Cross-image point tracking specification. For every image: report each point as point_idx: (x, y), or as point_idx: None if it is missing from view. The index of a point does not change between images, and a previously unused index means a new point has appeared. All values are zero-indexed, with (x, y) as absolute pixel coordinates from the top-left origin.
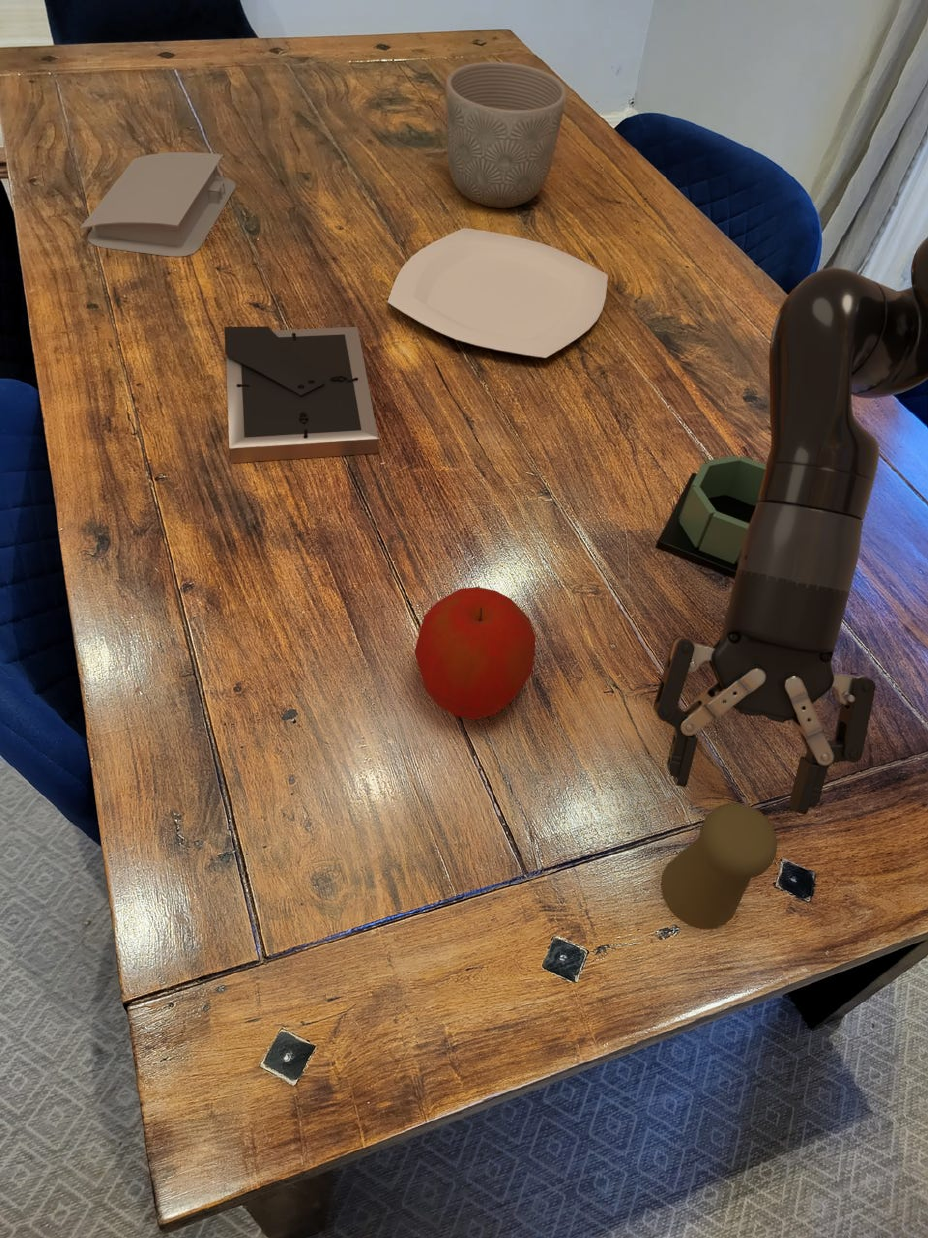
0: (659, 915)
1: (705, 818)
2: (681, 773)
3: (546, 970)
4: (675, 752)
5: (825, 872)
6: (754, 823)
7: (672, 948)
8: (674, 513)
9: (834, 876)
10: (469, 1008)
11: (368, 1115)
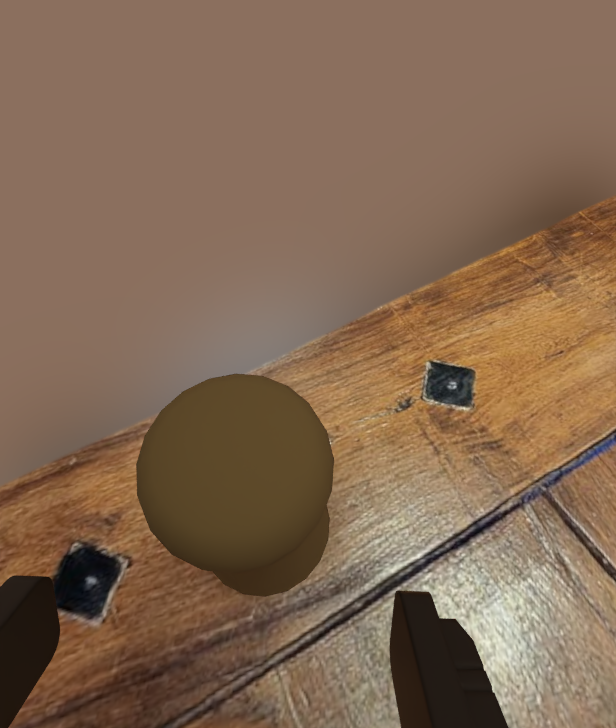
0: None
1: (324, 507)
2: (433, 620)
3: (467, 367)
4: (489, 704)
5: None
6: (200, 473)
7: None
8: None
9: None
10: (539, 315)
11: (585, 225)
